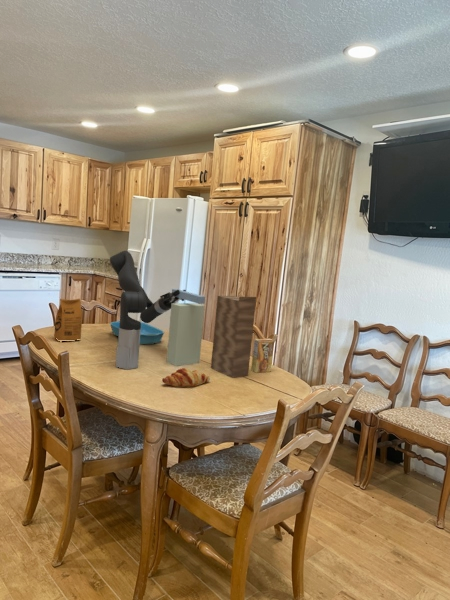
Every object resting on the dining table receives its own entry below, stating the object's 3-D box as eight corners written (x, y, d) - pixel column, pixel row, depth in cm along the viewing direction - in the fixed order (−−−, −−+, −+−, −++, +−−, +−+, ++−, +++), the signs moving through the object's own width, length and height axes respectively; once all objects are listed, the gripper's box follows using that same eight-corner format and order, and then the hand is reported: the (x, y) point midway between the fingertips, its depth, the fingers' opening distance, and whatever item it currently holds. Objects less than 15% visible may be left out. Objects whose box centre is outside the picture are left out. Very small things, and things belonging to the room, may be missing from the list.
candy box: (266, 369, 204) (269, 338, 203) (271, 371, 201) (274, 340, 199) (250, 370, 200) (254, 338, 198) (255, 373, 196) (259, 340, 194)
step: (199, 363, 204) (204, 305, 200) (174, 366, 195) (179, 305, 192) (191, 359, 209) (196, 303, 206) (166, 361, 200) (171, 303, 197)
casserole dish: (170, 345, 235) (171, 332, 234) (133, 348, 220) (134, 335, 219) (137, 331, 262) (138, 319, 261) (103, 333, 248) (104, 321, 247)
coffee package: (52, 338, 223) (54, 297, 220) (75, 337, 231) (77, 297, 228) (58, 343, 215) (60, 300, 212) (82, 341, 223) (85, 300, 220)
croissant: (205, 387, 180) (203, 369, 182) (217, 383, 172) (214, 364, 174) (158, 391, 169) (157, 371, 171) (168, 387, 161) (166, 366, 163)
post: (247, 375, 191) (256, 297, 187) (232, 378, 185) (240, 297, 181) (225, 365, 203) (233, 291, 199) (210, 367, 198) (218, 291, 193)
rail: (204, 303, 191) (205, 296, 191) (198, 303, 189) (199, 296, 189) (177, 295, 209) (177, 289, 208) (171, 295, 207) (172, 289, 206)
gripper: (151, 296, 212) (168, 283, 199) (175, 296, 220) (192, 284, 208) (153, 311, 210) (171, 298, 197) (177, 310, 218) (195, 298, 206)
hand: (182, 291), depth 203 cm, fingers closed on rail, 3 cm apart
